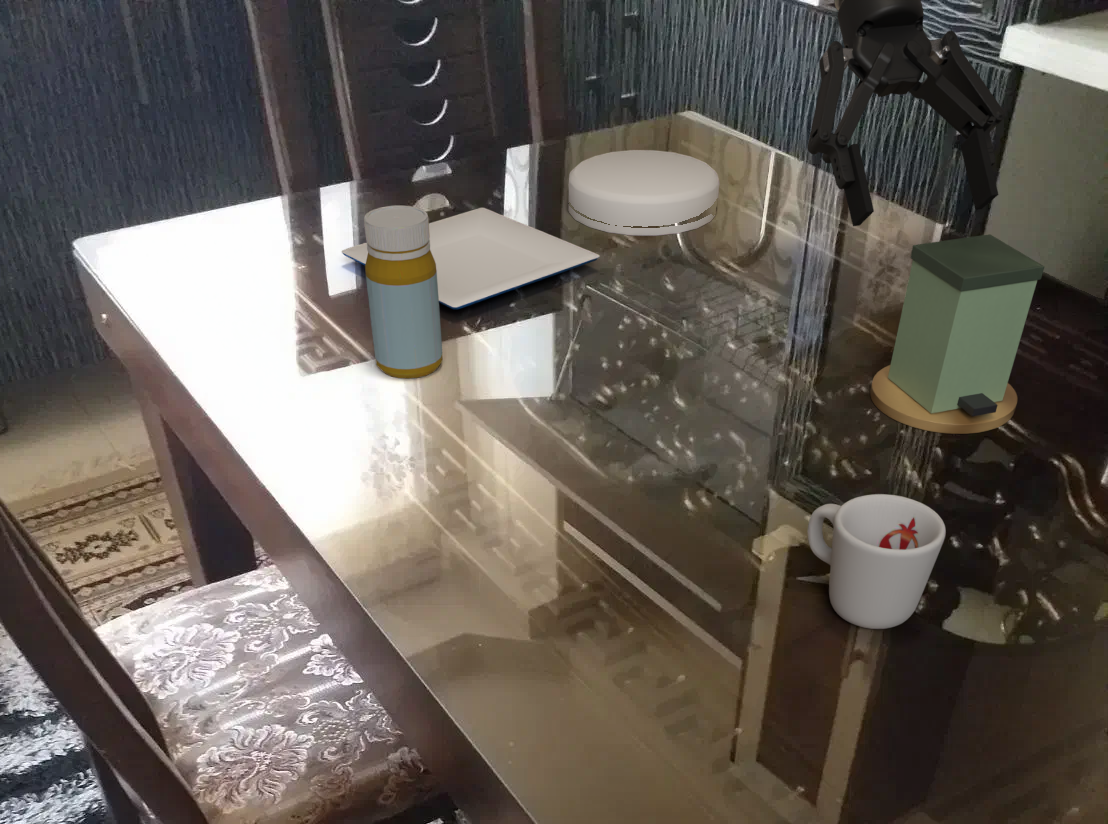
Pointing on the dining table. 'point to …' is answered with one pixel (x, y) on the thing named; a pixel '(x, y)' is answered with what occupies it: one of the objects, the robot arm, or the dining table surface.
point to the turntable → (951, 421)
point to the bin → (962, 323)
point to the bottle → (402, 292)
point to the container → (642, 192)
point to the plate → (490, 256)
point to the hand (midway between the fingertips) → (926, 211)
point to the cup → (877, 556)
